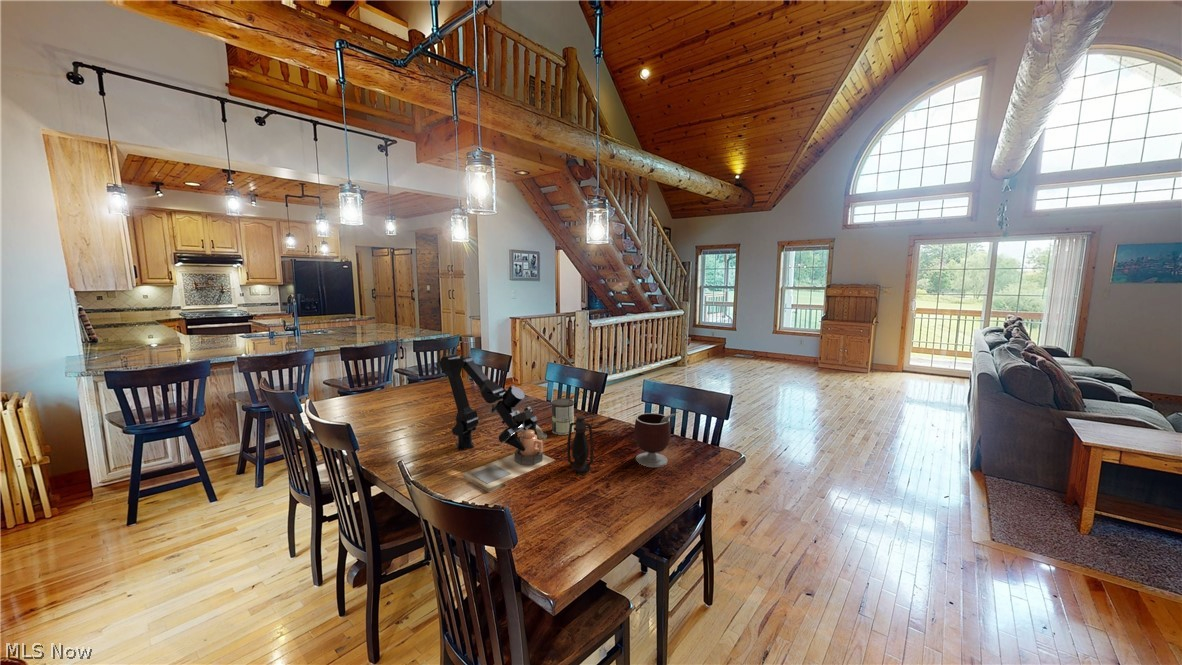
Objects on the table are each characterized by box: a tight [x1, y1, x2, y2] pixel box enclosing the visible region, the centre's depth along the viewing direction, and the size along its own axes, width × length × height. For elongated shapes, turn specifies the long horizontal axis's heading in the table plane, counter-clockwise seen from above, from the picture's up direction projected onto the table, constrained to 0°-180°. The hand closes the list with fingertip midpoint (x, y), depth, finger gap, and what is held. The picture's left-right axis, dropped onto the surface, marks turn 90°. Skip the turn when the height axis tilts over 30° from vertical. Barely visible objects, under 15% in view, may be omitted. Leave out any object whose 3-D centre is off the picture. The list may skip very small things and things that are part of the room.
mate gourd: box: [633, 412, 676, 468], centre depth 164 cm, size 16×14×20 cm
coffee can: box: [551, 398, 575, 436], centre depth 196 cm, size 10×10×14 cm
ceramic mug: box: [520, 424, 548, 440], centre depth 186 cm, size 11×8×8 cm
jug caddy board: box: [462, 446, 556, 493], centre depth 157 cm, size 30×16×4 cm, turn 137°
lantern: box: [566, 390, 595, 475], centre depth 156 cm, size 8×8×30 cm
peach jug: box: [519, 430, 544, 456], centre depth 162 cm, size 9×6×11 cm
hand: (531, 446), depth 162 cm, fingers open, 9 cm apart
